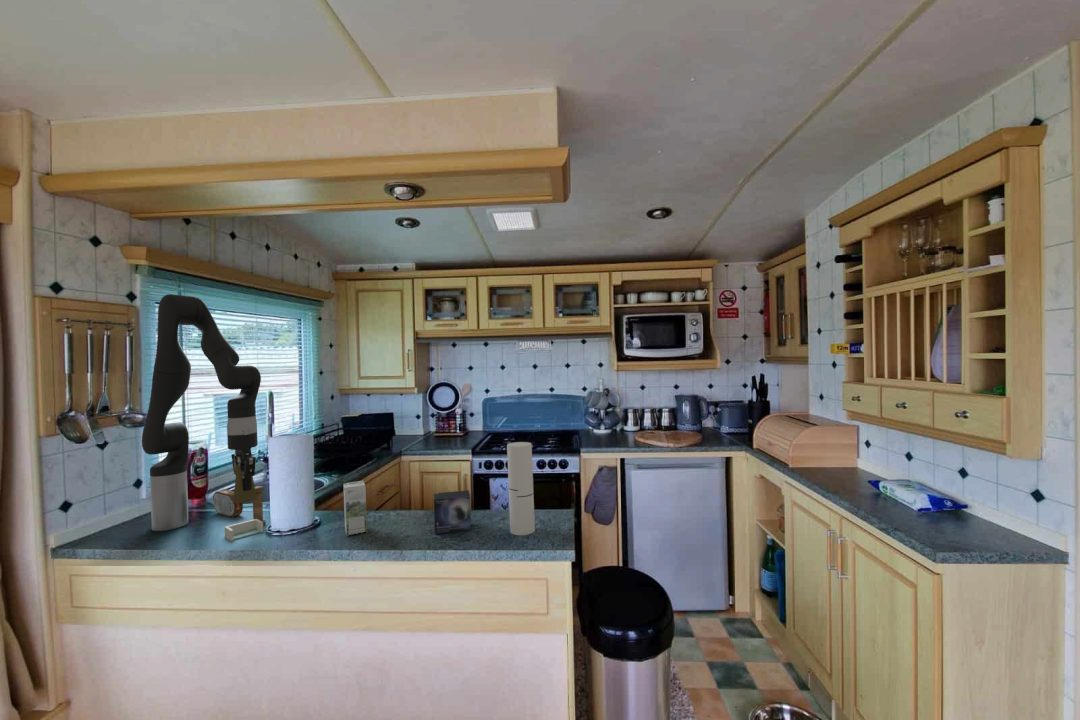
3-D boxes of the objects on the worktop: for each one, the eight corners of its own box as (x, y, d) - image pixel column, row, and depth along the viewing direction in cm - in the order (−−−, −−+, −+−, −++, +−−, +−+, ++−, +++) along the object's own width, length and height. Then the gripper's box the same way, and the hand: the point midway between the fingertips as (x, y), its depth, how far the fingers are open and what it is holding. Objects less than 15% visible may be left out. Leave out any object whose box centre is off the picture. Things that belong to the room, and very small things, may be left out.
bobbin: (249, 526, 144) (247, 488, 144) (263, 522, 147) (261, 485, 147) (253, 528, 141) (252, 490, 141) (267, 524, 144) (266, 487, 144)
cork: (245, 503, 132) (243, 465, 132) (227, 502, 133) (226, 465, 133) (261, 497, 138) (260, 461, 138) (244, 496, 139) (243, 460, 139)
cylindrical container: (517, 524, 135) (514, 441, 136) (539, 527, 132) (535, 442, 132) (505, 533, 129) (502, 445, 129) (527, 536, 126) (524, 447, 126)
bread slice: (244, 516, 154) (243, 491, 154) (234, 519, 151) (233, 494, 151) (221, 510, 161) (220, 487, 161) (211, 513, 158) (210, 489, 158)
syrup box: (364, 526, 139) (363, 479, 139) (367, 533, 134) (365, 484, 134) (344, 530, 136) (343, 482, 136) (346, 537, 131) (344, 487, 131)
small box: (434, 535, 129) (433, 499, 130) (434, 527, 136) (433, 493, 136) (471, 531, 132) (470, 495, 132) (469, 523, 138) (468, 489, 138)
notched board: (224, 536, 135) (224, 526, 135) (256, 528, 141) (256, 518, 141) (230, 541, 131) (230, 530, 131) (263, 531, 138) (263, 522, 138)
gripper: (220, 432, 137) (222, 488, 137) (235, 435, 128) (237, 496, 128) (248, 428, 143) (250, 483, 143) (265, 431, 134) (267, 489, 134)
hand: (244, 488), depth 135 cm, fingers closed on cork, 4 cm apart
